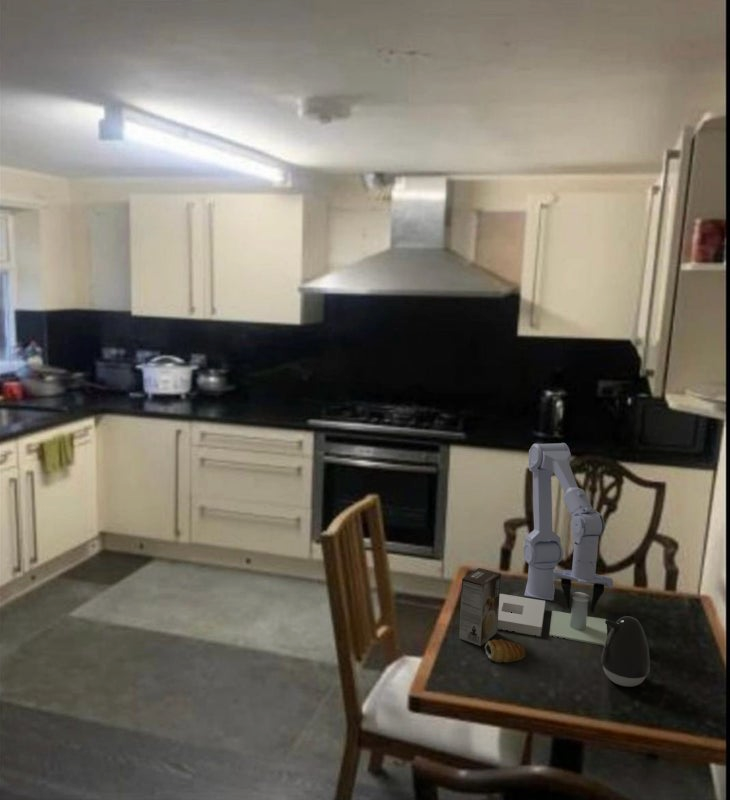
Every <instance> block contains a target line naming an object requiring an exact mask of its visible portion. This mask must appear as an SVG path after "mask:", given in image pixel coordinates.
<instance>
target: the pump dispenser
mask: <svg viewBox="0 0 730 800" xmlns="http://www.w3.org/2000/svg"><path fill="white" fill-rule="evenodd" d="M605 624H607V626H608V627H611V629H610V631H609V633H608V634H607V639H606V642H605V645H604V646H603V649H602V652H601V653H602V654H601V657H600V659H601V661H600V662H601V665H602V669H603V671H604V673H605V676H606V677H607V678H608V679H609V680H610V681H611V682H613V683H614V684H617V685H618V686H621V687H627V688H629V687H630V688H631V687H636V686H638V685H641V684H642V683H643V682H644V681H645V679H646V677H647V676H648V675H649V673H650V664H651V662H650V660H651V659H650V650H649V644H648V640H647V639H648V638H647V636H646V633H645V630H644V628H643V626H642V625H641V622H640V621H639V620H638V619H637V618H636V617H633V616H628V615H625V616H622V617H620V618H619V619H617V620H616V621H612V620H611V619H606V621H605Z"/></svg>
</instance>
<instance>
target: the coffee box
mask: <svg viewBox="0 0 730 800" xmlns="http://www.w3.org/2000/svg"><path fill="white" fill-rule="evenodd" d="M501 577H502V574H501V573H500V572H496V571H493V570H488V569H485V568H481V567H478V568H477V569H475V570H473V571H471V572H470V573H469V574H467V575H465V576H464V577H463V578H462V579H461V594H460V595H461V596H460V598H461V599H460V615H459V633H458V634H459V635H458V636H459V637H458V639H460V640H462V641H466V642H468V643H471V644H474V645H475V646H476V645H477V646H479V647H482V646H483V645H484V644H486V643H487V641H490V640H491V638H493V637H494V636H495V635H496V634H497V633H498V629H497V627H498V612H499V595H500V594H501V593H500V592H501V591H500V590H501Z"/></svg>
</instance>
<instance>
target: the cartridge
mask: <svg viewBox="0 0 730 800" xmlns="http://www.w3.org/2000/svg"><path fill="white" fill-rule="evenodd" d="M571 600H572V601H571V607H570V610H571V611H570V614H571V618H570V627H571V628H573V629H575V630H585V629H586V622H587V616H588V613H589V612H588V611H589V602H590V600H591V596H590V595H589V594H587V593H585V592H580V591H576V592H575V591H574V592H572V594H571Z"/></svg>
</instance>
